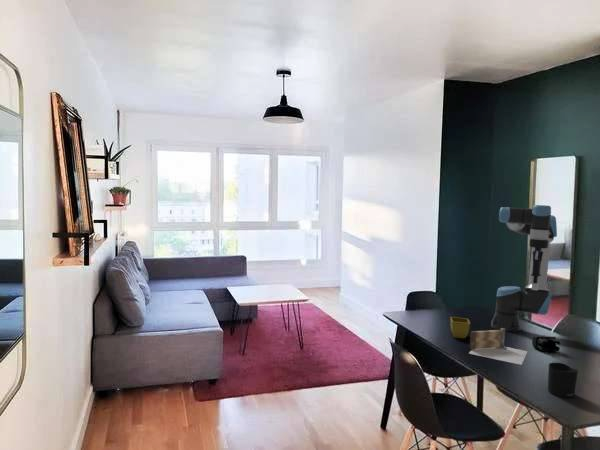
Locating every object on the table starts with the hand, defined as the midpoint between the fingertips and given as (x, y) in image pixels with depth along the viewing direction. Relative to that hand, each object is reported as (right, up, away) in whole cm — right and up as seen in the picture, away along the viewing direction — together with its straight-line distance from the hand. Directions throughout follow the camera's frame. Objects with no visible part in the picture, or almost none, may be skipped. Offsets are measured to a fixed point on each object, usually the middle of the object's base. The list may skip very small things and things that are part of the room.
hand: (534, 289), depth 215 cm
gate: (-19, -28, +6) cm, 35 cm away
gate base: (-16, -30, +2) cm, 34 cm away
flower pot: (-27, -28, +24) cm, 45 cm away
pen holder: (-11, -33, -40) cm, 53 cm away
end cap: (+9, -31, +8) cm, 33 cm away
